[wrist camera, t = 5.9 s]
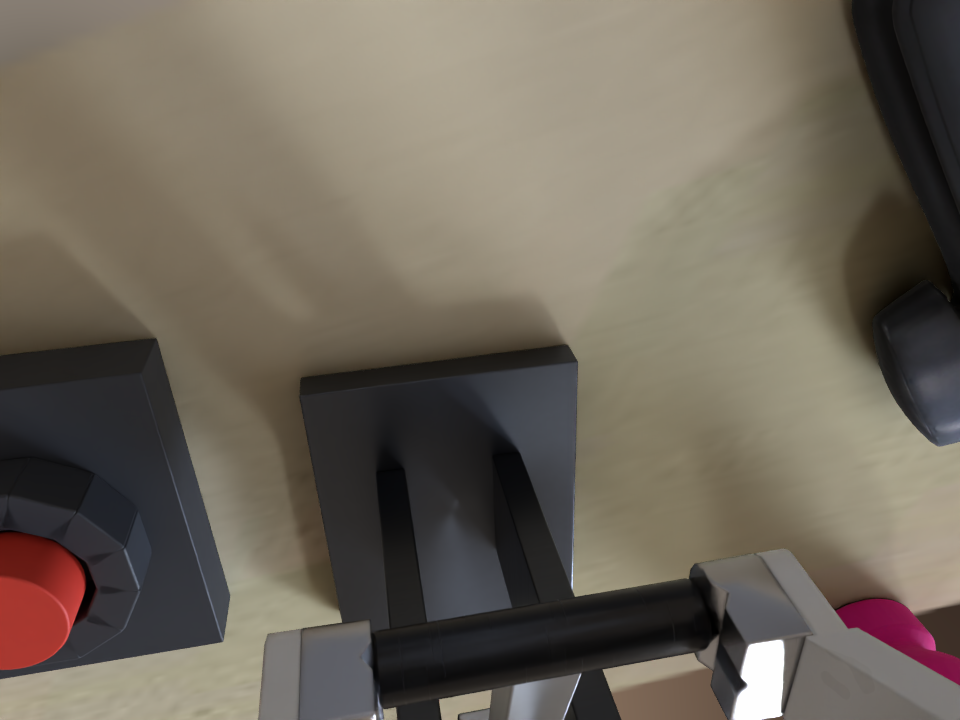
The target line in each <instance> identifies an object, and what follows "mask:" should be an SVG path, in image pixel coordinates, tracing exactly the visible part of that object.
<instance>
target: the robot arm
mask: <svg viewBox="0 0 960 720" xmlns="http://www.w3.org/2000/svg"><path fill="white" fill-rule="evenodd" d="M689 579H690V580H692V581H693V582H694V583H695V584H696V585H697V586H698V588H699V589H700V591H701V593H702V595H703V597H704V600H705V603H706V605H707V609H708V612H709V616H710V622H711V643H710V645H709V647H708V648H707V649H706V650H704V651H700V652H694V653H695V656H696V658H697V660H698V661H699V662H701V663H702V664H703V665H705V666H706V667H708V668H709V669H711V670H712V671H713V675H712V680H711V688H712V690H713V692H714V694H715V696H716V698H717V700H718V702H719V704H720V706H721V708H722V710H723V711H724V713H725V715H726V717H727V719H728V720H760V719H766V718H772V717H778V716H784V717H783V719H784V720H960V685H958V684H956V683H954V682H953V681H951V680H949V679H947V678H945V677H944V676H942V675H940V674H938V673H937V672H935V671H933V670H931V669H930V668H928V667H926V666H924V665H922V664H921V663H919V662H917V661H915V660H914V659H912V658H910V657H908V656H907V655H905V654H903V653H901V652H900V651H898V650H896V649H894V648H892V647H891V646H889V645H887V644H885V643H884V642H882V641H880V640H878V639H877V638H875V637H873V636H871V635H870V634H868V633H866V632H864V631H862V630H861V629H859V628H850V629H848V628H847V627H846V625H845V624H844V622H843V621H842V620H841V618H840V617H839V616H838V614H837V613H836V612H835V610H834V609H833V608H832V606H831V605H830V604H829V602H828V601H827V600H826V598H825V597H824V596H823V594H822V593H821V591H820V590H819V589H818V587H817V586H816V585H815V583H814V582H813V581H812V579H811V578H810V577H809V575H808V574H807V573H806V571H805V570H804V569H803V567H802V566H801V565H800V563H799V562H798V560H797V559H796V558H795V556H794V555H793V554H792V552H790V551H788V550H787V549H785V548H784V549H778V550H772V551H766V552H760V553H755V554H745V555H740V556H734V557H729V558H723V559H718V560H712V561H706V562H701V563H695V564H694V565H693V567H692V568H691V570H690V576H689ZM374 669H375V660H374V649H373V630H372V625H371V620H370V619H365V620H358V621H351V622H344V623H337V624H329V625H322V626H315V627H308V628H303V629H296V630H289V631H283V632H276V633H270V634H268V635H267V638H266V641H265V645H264V657H263V669H262V681H261V693H260V705H259V717H258V720H383V719H384V715H383V708H381V707H380V705H379V703H378V697H377V691H376V685H375V677H374Z"/></svg>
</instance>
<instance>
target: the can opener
mask: <svg viewBox="0 0 960 720" xmlns="http://www.w3.org/2000/svg"><path fill="white" fill-rule="evenodd" d="M852 16H853V22H854V26H855V30H856V34H857V38H858V42H859V45H860V48H861V52H862V57H863V59H864V61H865V64H866V69H867V72H868V75H869V78H870V81H871V83H872V87H873V90H874V94H875V96H876V99H877V101H878V104H879V107H880V110H881V113H882V116H883V118H884V121H885V123H886V126H887V128H888V130H889V133H890V136H891V139H892V141H893V143H894V146H895V148H896V151H897V153H898V155H899V158H900V160H901V162H902V164H903V167H904V170H905V171H906V173H907V176H908V178H909V180H910V182H911V185H912V187H913V190H914V191H915V194H916V195H917V197H918V201H919V203H920V205H921V207H922V209H923V212H924V214H925V216H926V219H927V221H928V223H929V225H930V227H931V229H932V232H933V234H934V236H935V239H936V241H937V243H938V245H939V247H940V250H941V253H942V255H943V258H944V260H945V263H946V265H947V268H948V273H949V275H950V278H951V283H952V288H953V291H954V293H953V297H952V300H951V303H950V302H949V301H948V300H947V297H946V296H945V295H944V294H943V293H942V291H941V290H940V289H938V288H936V287H935V286H934V284H933V283H932V282H930V281H929V280H924V281H922V282H920V283H919V284H918V285H916V286H915V287H914V288H912V289H911V290H909V291H908V292H906V293H905V294H903V295H902V296H900V297H899V298H898V299H896V300H895V301H893V302H892V303H891V304H889V305H888V306H887V307H885V308H884V309H883V310H881V311H880V312H879V313H878V314H877V315H876V316H874V318H873V322H872V326H873V338H874V343H875V349H876V353H877V357H878V361H879V366H880V368H881V371H882V374H883V376H884V379H885V381H886V383H887V385H888V388H889V390H890V392H891V394H892V395H893V397H894V399H895V400H896V402H897V404H898V405H899V407H900V408H901V409H902V411H903V412H904V414H905V415H906V416H907V417H908V419H909V420H910V421H911V422H912V424H913V425H914V426H915V427H916V428H917V429H918V430H919V431H920V432H921V433H922V434H923V435H924V436H925V437H926V438H927V439H928V440H929V441H930V442H932V443H933V444H935V445H937V446H944V445H948V444H952V443H957V442H960V0H852Z"/></svg>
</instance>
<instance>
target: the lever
mask: <svg viewBox="0 0 960 720" xmlns="http://www.w3.org/2000/svg"><path fill="white" fill-rule="evenodd" d="M710 643H711V622H710V616H709V612H708V609H707V605H706V603H705V600H704V597H703V595H702V593H701V591H700V589H699V588H698V586H697V585H696V584H695V583H694V582H693V581H692V580H690V579H679V580H673V581H667V582H661V583H655V584H649V585H643V586H637V587H632V588H626V589H620V590H614V591H608V592H602V593H596V594H590V595H584V596H578V597H572V598H566V599H561V600H555V601H549V602H543V603H537V604H531V605H525V606H519V607H513V608H507V609H501V610H496V611H490V612H484V613H478V614H472V615H466V616H460V617H454V618H448V619H442V620H436V621H430V622H425V623H419V624H413V625H407V626H401V627H395V628H389V629H383V630H377V631H375V632H374V633H373V649H374V660H375V669H374V677H375V685H376V691H377V697H378V703H379V705H380V707H381V708H383V709H388V708H394V707H399V706H405V705H410V704H416V703H421V702H427V701H432V700H438V699H443V698H449V697H454V696H459V695H465V694H470V693H476V692H481V691H487V690H492V695H491V704H490V708H487V709H482V710H477V711H471V712H466V713H461V714H459V715H458V720H564V717H565V715H566V712H567V710H568V707H569V704H570V702H571V699H572V697H573V694H574V692H575V689H576V686H577V684H578V681H579V679H580V676H581V673H585V672H591V671H596V670H602V669H607V668H613V667H618V666H623V665H629V664H634V663H640V662H645V661H651V660H656V659H662V658H667V657H673V656H678V655H684V654H689V653H694V652H700V651H704V650H706V649H707V648H708V647H709V645H710Z"/></svg>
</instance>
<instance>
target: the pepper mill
mask: <svg viewBox="0 0 960 720" xmlns="http://www.w3.org/2000/svg"><path fill="white" fill-rule="evenodd" d="M835 612H836V613H837V614H838V616H839V617H840V618H841V620H842V621H843V622H844V624H845V625H846V627H847V628H848V629H850V628H859V629H861V630H862V631H864V632H866V633H868V634H870V635H871V636H873V637H875V638H877V639H878V640H880V641H882V642H884V643H885V644H887V645H889V646H891V647H892V648H894V649H896V650H898V651H900V652H901V653H903V654H905V655H907V656H908V657H910V658H912V659H914V660H915V661H917V662H919V663H921V664H922V665H924V666H926V667H928V668H930V669H931V670H933V671H935V672H937V673H938V674H940V675H942V676H944V677H945V678H947V679H949V680H951V681H953V682H954V683H956V684H958V685H960V659H959V658H956V657H954V656H951V655H949V654H945V653H942V652H938V651H936V648H935V641H934V639H933V637H932V636H931V634H930V633H929V632H928V631H927V630H926V628H924V626H923V625H922V624H921V623H920V621H919V620H918V619H917V618H916V617H915V616H914V615H913V613H912V612H911V611H910V610H909V609H908V608H907V607H906V606H904V605H903V604H901V603H898V602H896V601H894V600H887V599H868V600H862V601H858V602H855V603H852V604H848V605H846V606H844V607H842V608H839V609H838V610H836V611H835Z"/></svg>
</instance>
